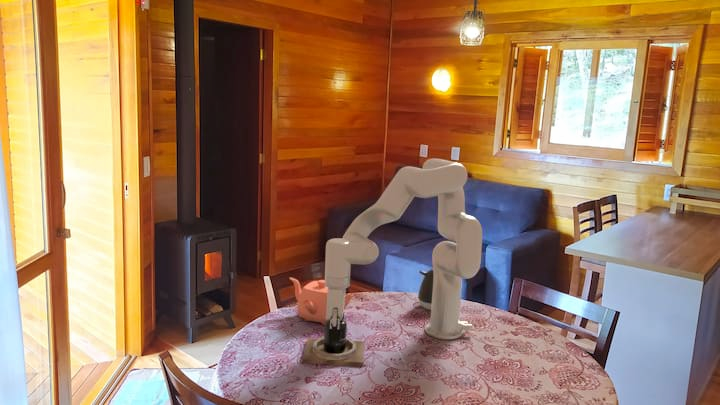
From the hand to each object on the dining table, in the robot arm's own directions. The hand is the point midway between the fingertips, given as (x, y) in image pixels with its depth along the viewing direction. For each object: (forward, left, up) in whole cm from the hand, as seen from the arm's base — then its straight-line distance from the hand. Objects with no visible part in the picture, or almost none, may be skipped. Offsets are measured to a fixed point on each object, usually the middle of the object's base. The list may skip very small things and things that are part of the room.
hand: (335, 333), depth 163 cm
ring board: (0, 0, -6) cm, 6 cm away
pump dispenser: (-34, -42, -7) cm, 54 cm away
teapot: (+7, -27, -7) cm, 29 cm away
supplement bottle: (0, 0, -5) cm, 5 cm away
